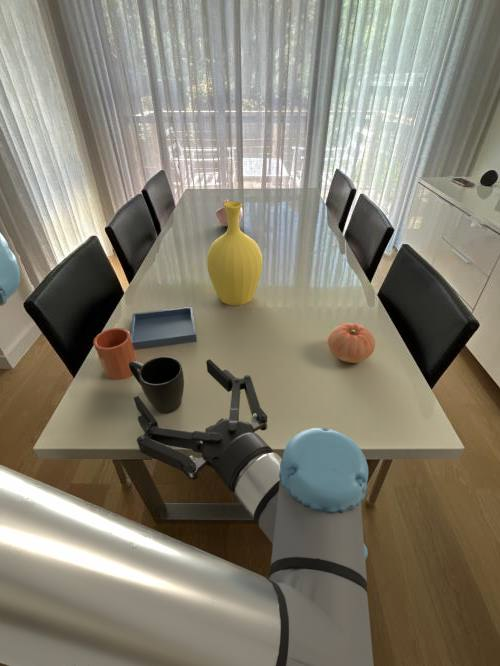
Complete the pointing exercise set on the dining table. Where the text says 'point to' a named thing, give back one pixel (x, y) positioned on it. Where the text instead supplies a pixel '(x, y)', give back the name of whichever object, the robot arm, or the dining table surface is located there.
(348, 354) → the orange pumpkin
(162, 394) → the mug
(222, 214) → the mortar and pestle
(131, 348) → the terracotta cup
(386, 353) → the dining table surface
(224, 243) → the vase
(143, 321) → the tray
